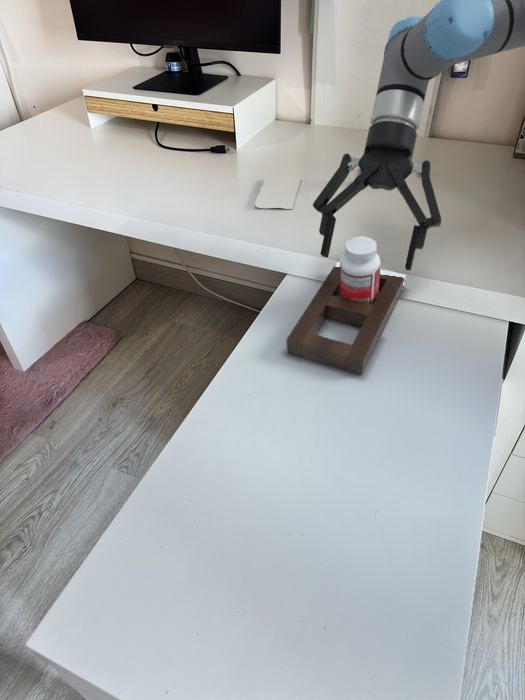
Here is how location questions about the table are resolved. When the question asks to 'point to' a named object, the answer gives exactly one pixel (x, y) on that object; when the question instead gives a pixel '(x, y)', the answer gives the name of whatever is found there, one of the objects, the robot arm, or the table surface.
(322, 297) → the rack
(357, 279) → the pill bottle
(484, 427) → the table surface
